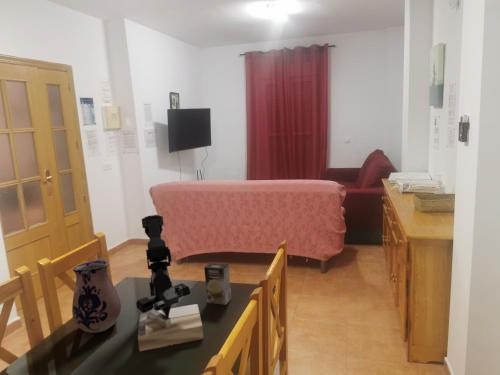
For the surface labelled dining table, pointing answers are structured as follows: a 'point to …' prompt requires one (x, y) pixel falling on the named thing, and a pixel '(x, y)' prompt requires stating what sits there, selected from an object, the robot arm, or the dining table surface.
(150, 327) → the stepped wooden block
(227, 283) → the coffee box
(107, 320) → the ceramic pitcher
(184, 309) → the jamb
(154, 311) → the bar
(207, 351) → the dining table surface
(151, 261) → the robot arm
